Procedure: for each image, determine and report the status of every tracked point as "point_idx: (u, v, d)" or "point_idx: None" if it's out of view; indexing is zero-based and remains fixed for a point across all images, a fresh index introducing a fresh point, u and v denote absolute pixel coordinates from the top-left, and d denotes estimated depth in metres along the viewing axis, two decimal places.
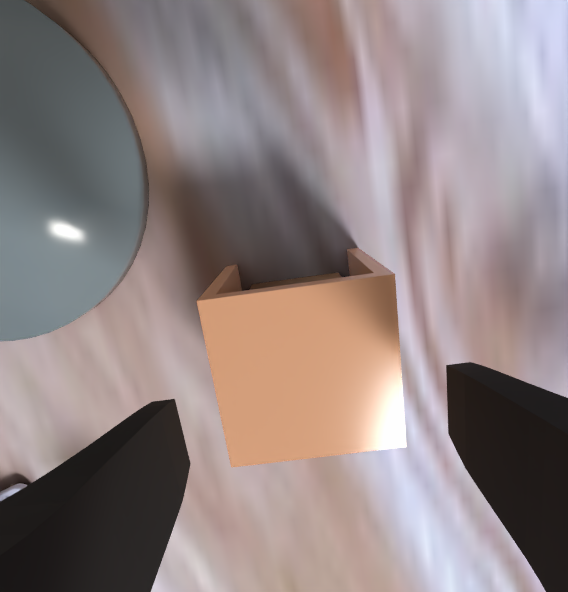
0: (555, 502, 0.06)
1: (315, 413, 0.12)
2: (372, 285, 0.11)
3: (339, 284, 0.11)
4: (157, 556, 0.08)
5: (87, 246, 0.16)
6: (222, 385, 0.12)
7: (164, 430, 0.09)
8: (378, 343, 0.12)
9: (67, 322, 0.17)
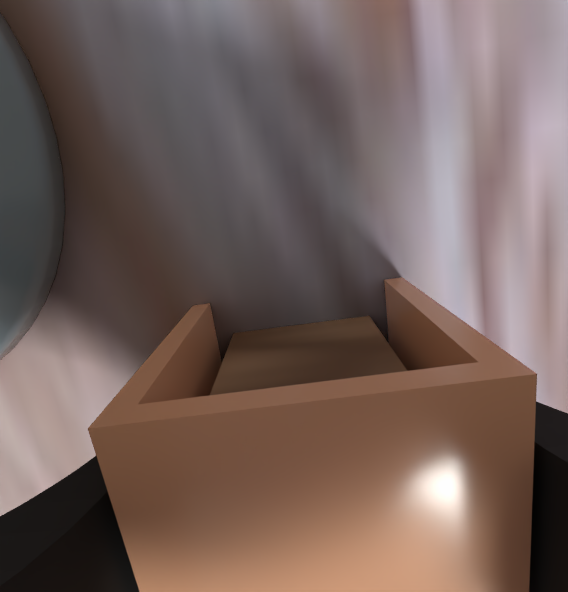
0: None
1: None
2: (482, 397, 0.05)
3: (408, 396, 0.05)
4: None
5: None
6: (154, 588, 0.06)
7: None
8: (486, 513, 0.05)
9: None
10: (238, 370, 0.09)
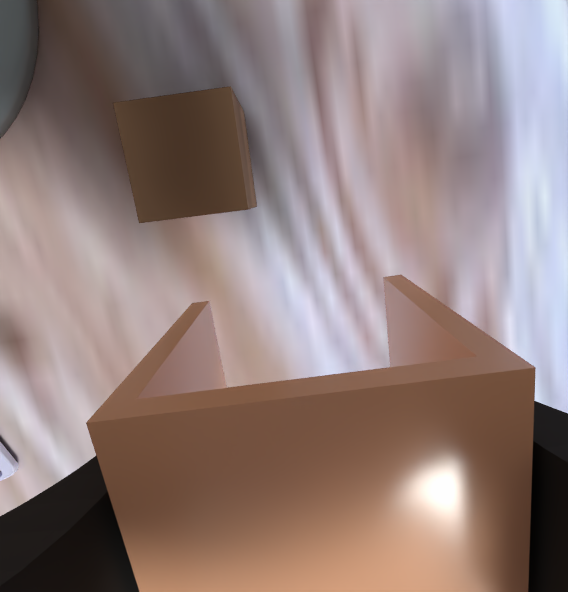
0: None
1: None
2: (481, 391, 0.05)
3: (406, 389, 0.05)
4: None
5: None
6: (153, 583, 0.06)
7: None
8: (485, 507, 0.05)
9: None
10: None
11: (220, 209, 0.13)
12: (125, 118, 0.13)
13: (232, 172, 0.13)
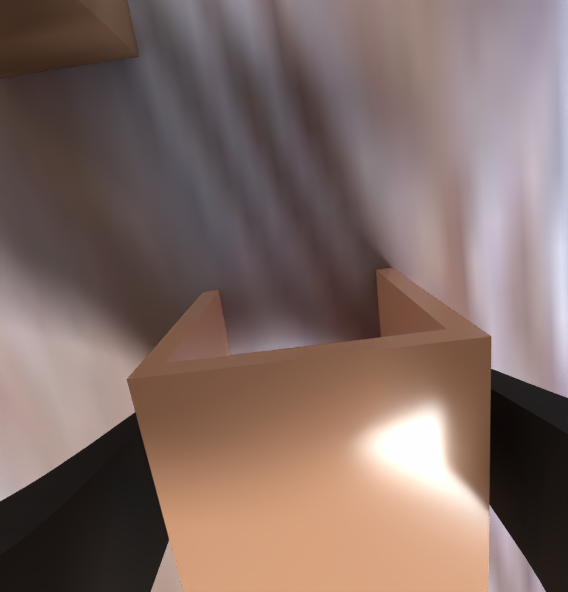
0: (555, 502, 0.06)
1: (337, 563, 0.07)
2: (448, 355, 0.06)
3: (387, 353, 0.06)
4: (157, 556, 0.08)
5: None
6: (177, 518, 0.07)
7: None
8: (452, 454, 0.07)
9: None
10: None
11: None
12: None
13: None
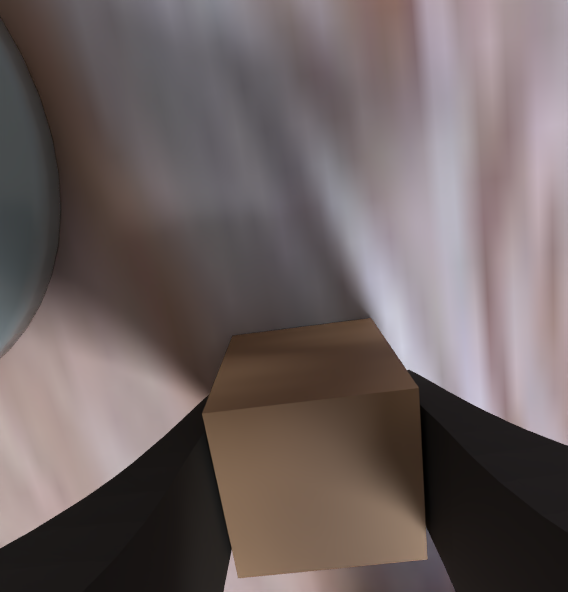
0: (458, 512, 0.06)
1: None
2: None
3: None
4: (228, 549, 0.08)
5: None
6: None
7: None
8: None
9: None
10: (236, 376, 0.08)
11: (378, 560, 0.08)
12: (224, 435, 0.07)
13: (406, 510, 0.07)
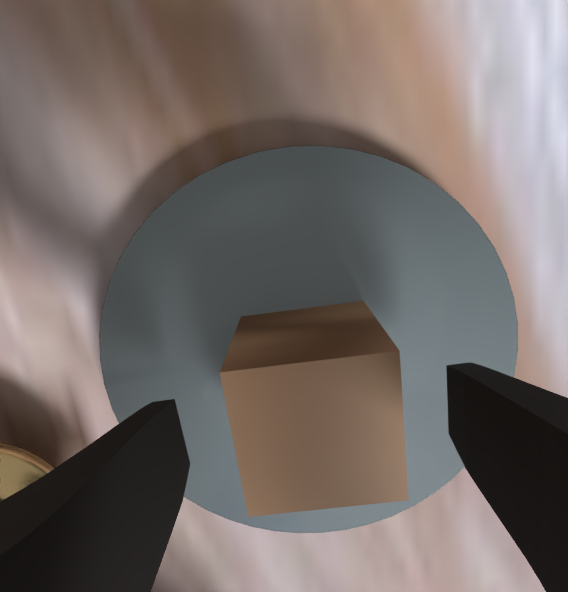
0: (555, 502, 0.06)
1: None
2: None
3: None
4: (157, 556, 0.08)
5: (436, 438, 0.13)
6: None
7: (164, 430, 0.09)
8: None
9: (391, 514, 0.14)
10: (246, 346, 0.10)
11: (368, 501, 0.09)
12: (237, 391, 0.08)
13: (390, 457, 0.09)
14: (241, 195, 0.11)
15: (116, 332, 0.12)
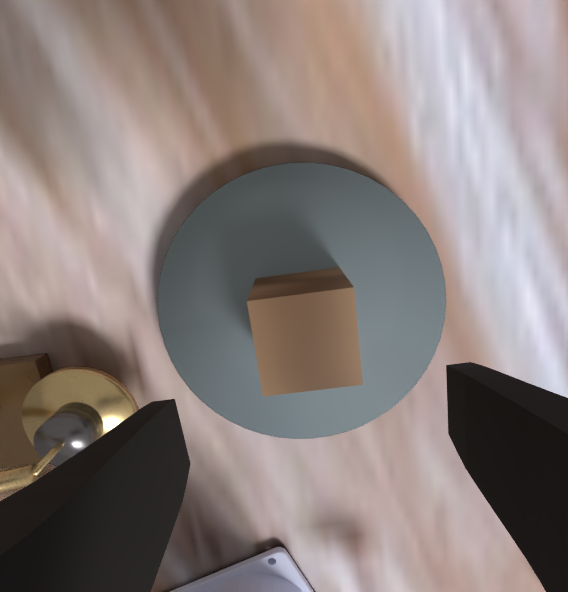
0: (555, 502, 0.06)
1: None
2: None
3: None
4: (157, 556, 0.08)
5: (392, 366, 0.19)
6: None
7: (164, 430, 0.09)
8: None
9: (362, 424, 0.20)
10: (261, 290, 0.15)
11: (337, 385, 0.15)
12: (257, 313, 0.14)
13: (350, 355, 0.14)
14: (256, 195, 0.17)
15: (169, 289, 0.18)
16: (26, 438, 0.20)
